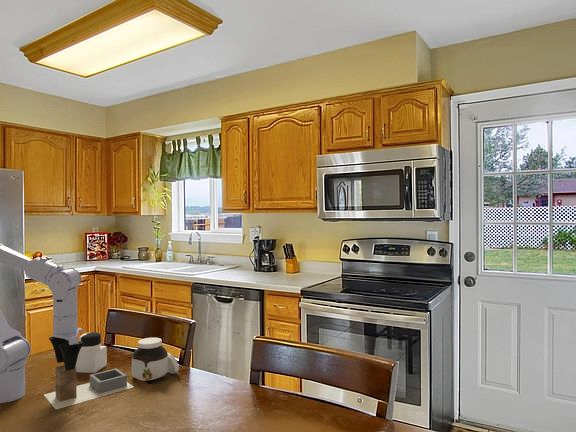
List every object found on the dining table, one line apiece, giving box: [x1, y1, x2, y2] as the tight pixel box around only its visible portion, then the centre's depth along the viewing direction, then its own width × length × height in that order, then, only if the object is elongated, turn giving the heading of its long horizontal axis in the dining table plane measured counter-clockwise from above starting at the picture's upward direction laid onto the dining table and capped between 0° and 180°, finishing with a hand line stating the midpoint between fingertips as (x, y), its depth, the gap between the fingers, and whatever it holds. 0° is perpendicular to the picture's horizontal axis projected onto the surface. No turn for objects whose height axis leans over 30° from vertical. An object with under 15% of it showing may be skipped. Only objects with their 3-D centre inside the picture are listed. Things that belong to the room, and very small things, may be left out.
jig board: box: [43, 368, 135, 410], centre depth 117 cm, size 20×12×4 cm, turn 133°
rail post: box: [55, 364, 77, 402], centre depth 113 cm, size 4×4×8 cm
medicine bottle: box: [76, 331, 108, 374], centre depth 135 cm, size 7×7×12 cm
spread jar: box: [131, 337, 179, 384], centre depth 130 cm, size 12×11×12 cm
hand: (66, 365), depth 113 cm, fingers open, 7 cm apart
